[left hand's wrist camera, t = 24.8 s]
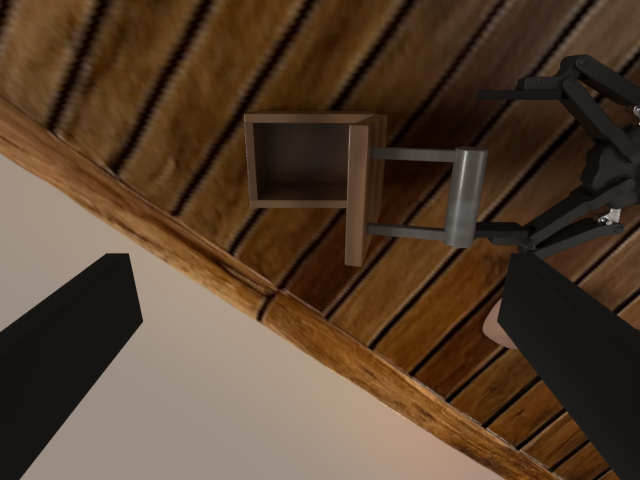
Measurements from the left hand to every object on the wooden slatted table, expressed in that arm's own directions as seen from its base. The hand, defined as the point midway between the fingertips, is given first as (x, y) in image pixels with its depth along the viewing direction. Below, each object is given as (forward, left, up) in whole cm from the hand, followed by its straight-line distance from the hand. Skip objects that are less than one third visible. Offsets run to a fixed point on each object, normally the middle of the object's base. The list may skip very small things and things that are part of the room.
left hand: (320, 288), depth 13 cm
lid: (-2, +3, -18) cm, 18 cm away
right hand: (-8, +13, -26) cm, 30 cm away
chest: (0, -1, -34) cm, 34 cm away
